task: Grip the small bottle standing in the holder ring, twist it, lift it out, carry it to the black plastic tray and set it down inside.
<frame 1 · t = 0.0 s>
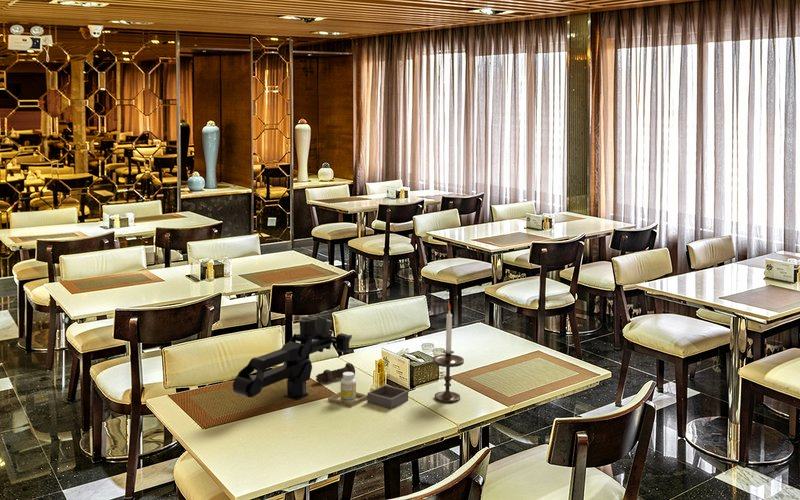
hand: (341, 334, 302), 17 cm above the table, tool horizontal, fingers open, 9 cm apart
supplement bottle: (348, 400, 281), resting in holder ring
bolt: (334, 380, 301), on the table
tray: (387, 401, 280), on the table
holder ring: (348, 399, 281), on the table
candlestick: (447, 398, 284), on the table
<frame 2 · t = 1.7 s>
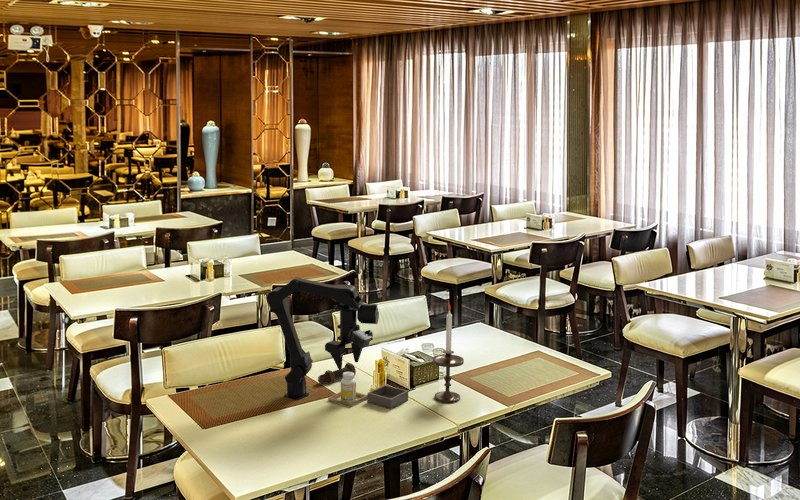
hand: (348, 365, 279), 12 cm above the table, tool pointing down, fingers open, 9 cm apart
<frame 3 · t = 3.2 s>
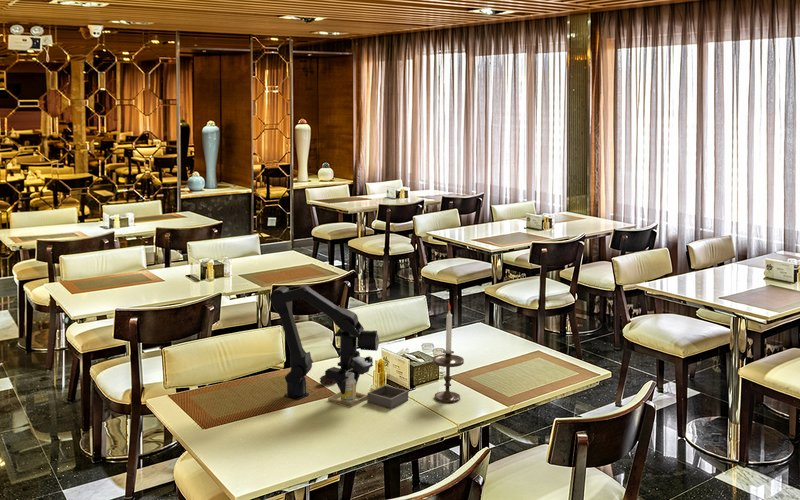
hand: (348, 391, 281), 3 cm above the table, tool pointing down, fingers closed on supplement bottle, 5 cm apart
supplement bottle: (348, 400, 281), resting in holder ring, touching gripper
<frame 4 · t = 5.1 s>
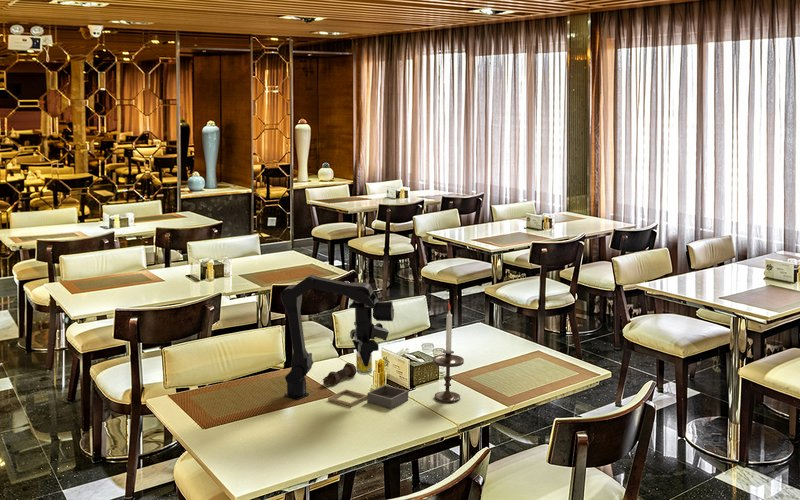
hand: (364, 363, 278), 13 cm above the table, tool pointing down, fingers closed on supplement bottle, 5 cm apart
supplement bottle: (364, 372, 279), point 10 cm above the table, touching gripper
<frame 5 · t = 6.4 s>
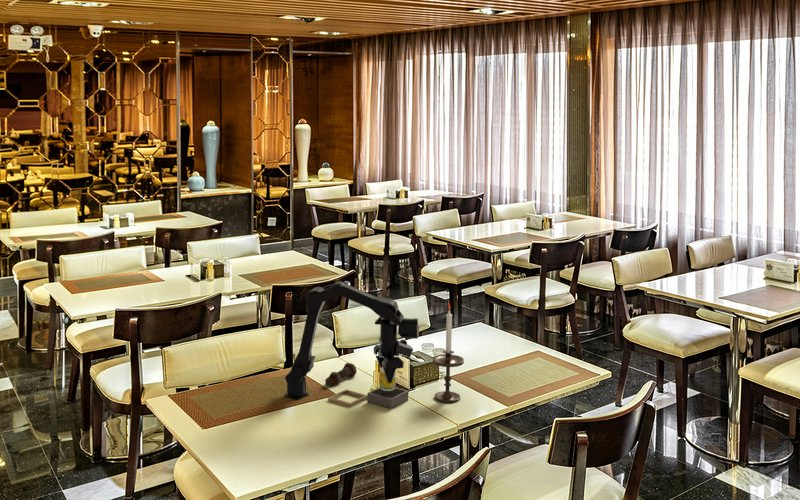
hand: (387, 380, 279), 8 cm above the table, tool pointing down, fingers closed on supplement bottle, 5 cm apart
supplement bottle: (387, 389, 279), point 5 cm above the table, touching gripper
when the fingers open (5 cm above the table, at t = 7.3 s): supplement bottle drops 1 cm, resting on tray.
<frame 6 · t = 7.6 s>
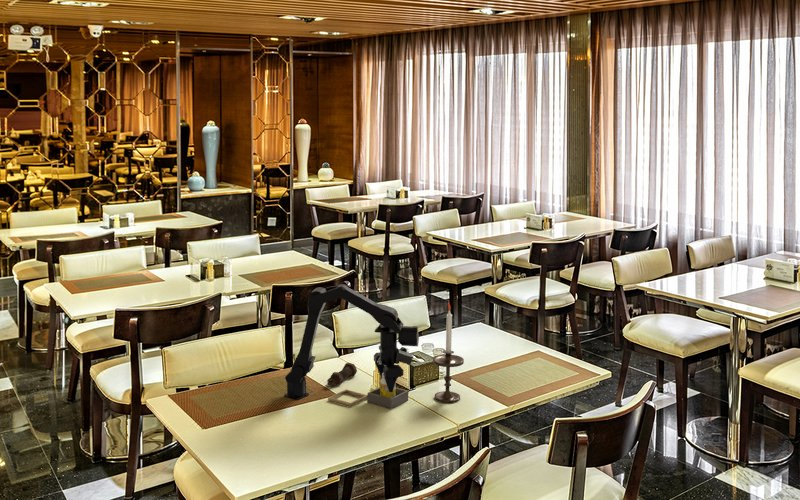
hand: (387, 387, 279), 5 cm above the table, tool pointing down, fingers open, 8 cm apart
supplement bottle: (387, 400, 280), resting on tray
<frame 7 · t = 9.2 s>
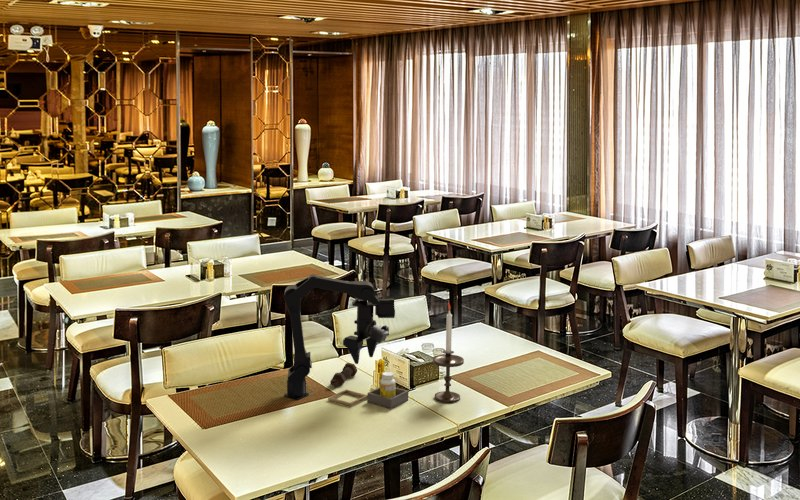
hand: (363, 360, 285), 13 cm above the table, tool pointing down, fingers open, 9 cm apart
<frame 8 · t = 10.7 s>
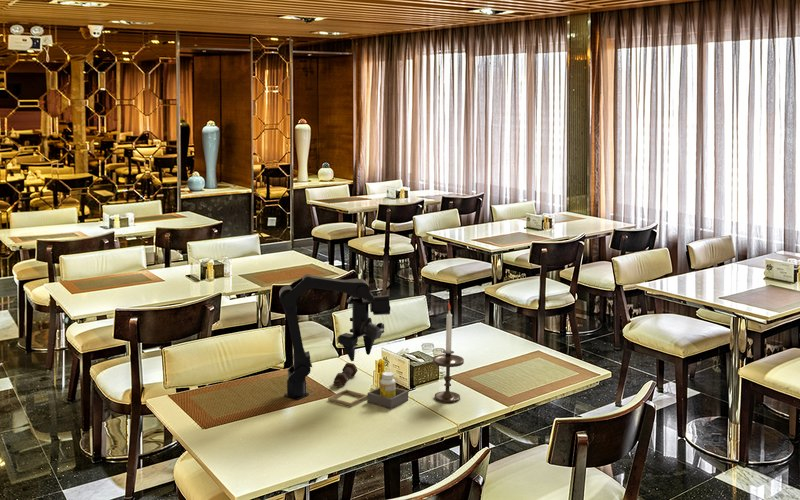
hand: (360, 357, 286), 13 cm above the table, tool pointing down, fingers open, 9 cm apart
at the end: supplement bottle inside the target area on the tray (0.1 cm from its centre), point 0.3 cm above the tray's base; supplement bottle tilted 0°; the gripper is holding nothing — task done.
